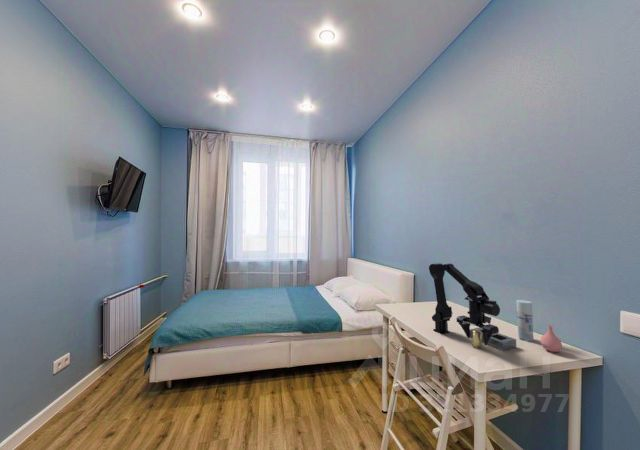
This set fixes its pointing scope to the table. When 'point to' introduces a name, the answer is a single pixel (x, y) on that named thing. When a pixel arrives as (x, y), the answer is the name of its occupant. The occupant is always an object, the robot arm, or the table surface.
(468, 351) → the table surface
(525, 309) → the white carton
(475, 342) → the brass fitting
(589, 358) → the table surface
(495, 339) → the manifold plate
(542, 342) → the pink teardrop bulb
